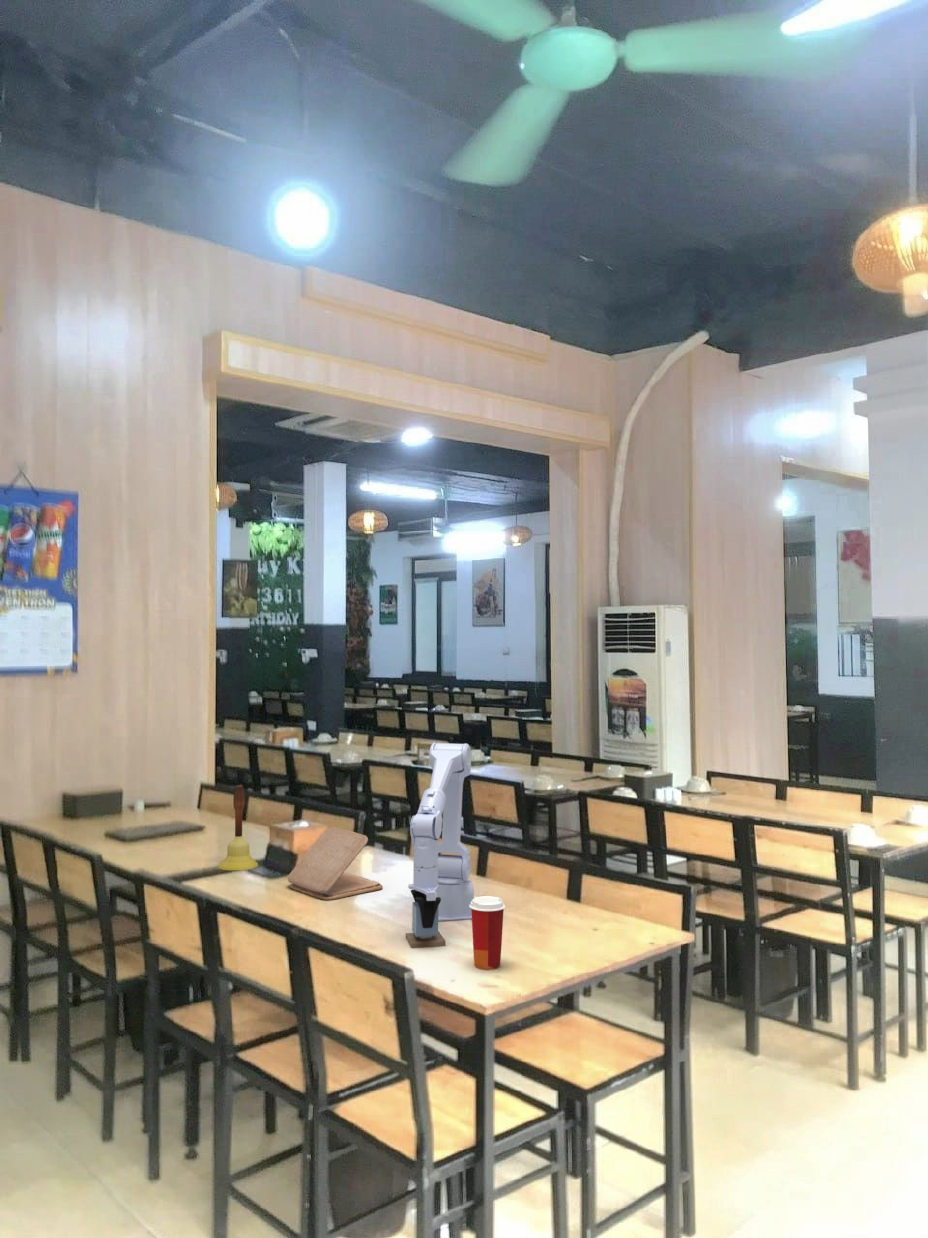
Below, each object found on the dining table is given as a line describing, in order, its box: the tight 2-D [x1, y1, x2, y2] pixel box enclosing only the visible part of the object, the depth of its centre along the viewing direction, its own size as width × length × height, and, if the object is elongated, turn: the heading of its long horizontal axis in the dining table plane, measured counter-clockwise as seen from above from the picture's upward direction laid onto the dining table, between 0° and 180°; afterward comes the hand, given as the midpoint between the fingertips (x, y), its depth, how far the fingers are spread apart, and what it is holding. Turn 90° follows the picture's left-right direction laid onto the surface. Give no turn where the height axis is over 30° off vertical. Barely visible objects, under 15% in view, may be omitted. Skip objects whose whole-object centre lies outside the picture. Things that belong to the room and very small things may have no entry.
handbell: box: [217, 784, 259, 871], centre depth 300 cm, size 12×12×25 cm
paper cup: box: [469, 895, 506, 971], centre depth 208 cm, size 8×8×14 cm
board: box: [405, 930, 447, 949], centre depth 224 cm, size 8×8×1 cm
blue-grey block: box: [411, 901, 439, 937], centre depth 224 cm, size 5×5×7 cm
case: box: [287, 826, 384, 901], centre depth 272 cm, size 20×21×16 cm
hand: (425, 924), depth 224 cm, fingers closed on blue-grey block, 5 cm apart
